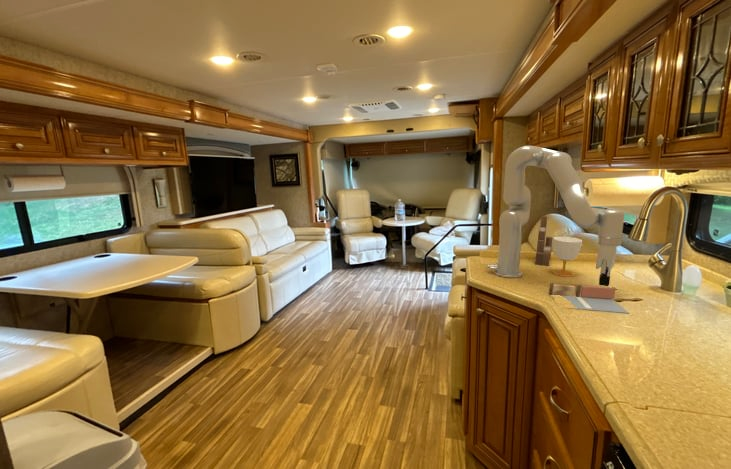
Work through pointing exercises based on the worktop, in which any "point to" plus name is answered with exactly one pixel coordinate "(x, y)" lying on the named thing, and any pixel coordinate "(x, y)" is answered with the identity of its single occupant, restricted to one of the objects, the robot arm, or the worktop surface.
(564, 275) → the cup
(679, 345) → the worktop surface
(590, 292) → the bar
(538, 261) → the wooden toy
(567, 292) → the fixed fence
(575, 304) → the card
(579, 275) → the worktop surface
